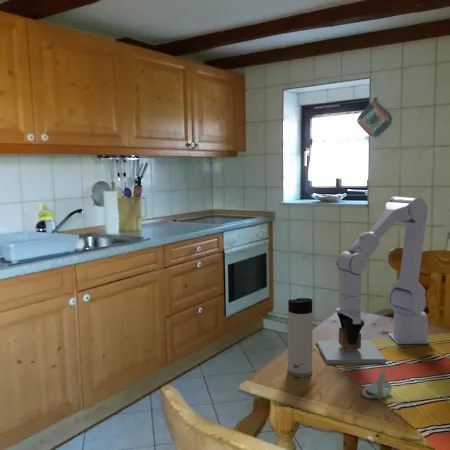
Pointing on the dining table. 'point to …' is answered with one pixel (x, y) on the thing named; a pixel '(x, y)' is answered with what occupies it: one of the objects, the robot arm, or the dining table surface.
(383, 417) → the dining table surface
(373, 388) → the pacifier
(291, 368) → the travel mug
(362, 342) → the grey rectangular slab
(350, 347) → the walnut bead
